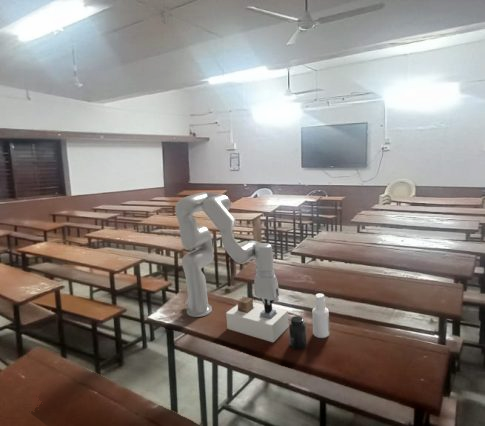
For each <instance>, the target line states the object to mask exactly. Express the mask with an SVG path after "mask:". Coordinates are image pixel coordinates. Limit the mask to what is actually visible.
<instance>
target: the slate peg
mask: <svg viewBox="0 0 485 426" xmlns="http://www.w3.org/2000/svg"><path fill="white" fill-rule="evenodd" d="M275 315H276V310H273V309H272V311H271V312H270V313H265V309H264V310H263V311H262V312H261V313H260V316H261V317H264V318H268V319H272V318H273V317H274V316H275Z"/></svg>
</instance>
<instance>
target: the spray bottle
mask: <svg viewBox="0 0 485 426" xmlns="http://www.w3.org/2000/svg"><path fill="white" fill-rule="evenodd" d="M325 301H326V299H325V294H324V293H316V294H315V305H314V308H312V310H311V313H312V314H311V316H312V334H313V336H314V337H316V338H319V339H325V338H327V337H329V336H330V311H329V309H328V308H327V307H326V302H325Z"/></svg>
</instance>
